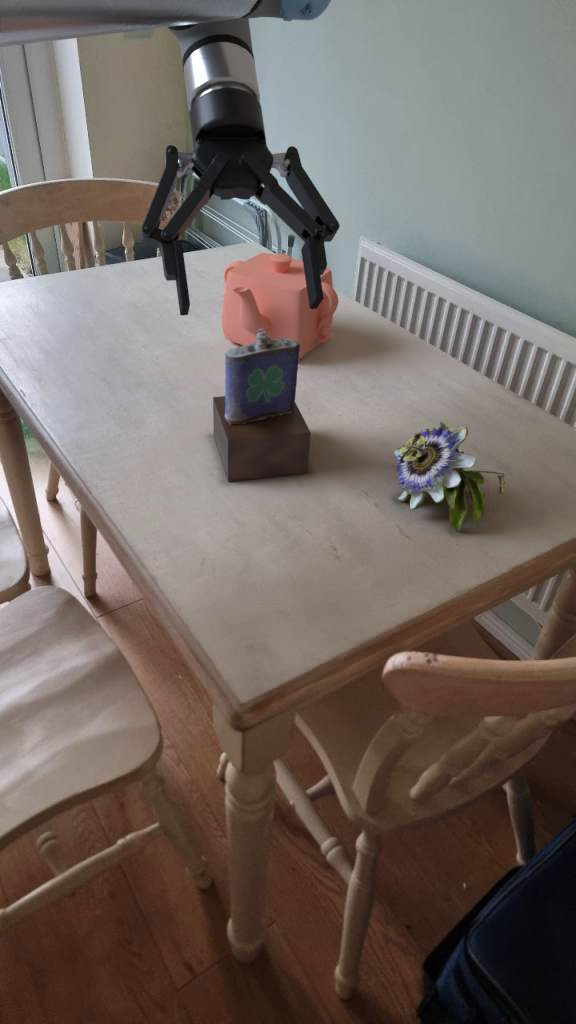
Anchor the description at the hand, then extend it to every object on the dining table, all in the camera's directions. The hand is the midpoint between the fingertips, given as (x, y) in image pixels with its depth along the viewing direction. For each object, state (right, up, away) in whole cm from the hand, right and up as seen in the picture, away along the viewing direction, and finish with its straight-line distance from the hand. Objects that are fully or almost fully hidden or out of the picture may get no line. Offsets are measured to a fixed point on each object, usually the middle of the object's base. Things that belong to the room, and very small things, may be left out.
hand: (252, 307), depth 70 cm
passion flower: (+22, -19, +13) cm, 32 cm away
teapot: (0, +6, +42) cm, 42 cm away
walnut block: (0, -13, +18) cm, 23 cm away
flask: (0, -9, +15) cm, 17 cm away
